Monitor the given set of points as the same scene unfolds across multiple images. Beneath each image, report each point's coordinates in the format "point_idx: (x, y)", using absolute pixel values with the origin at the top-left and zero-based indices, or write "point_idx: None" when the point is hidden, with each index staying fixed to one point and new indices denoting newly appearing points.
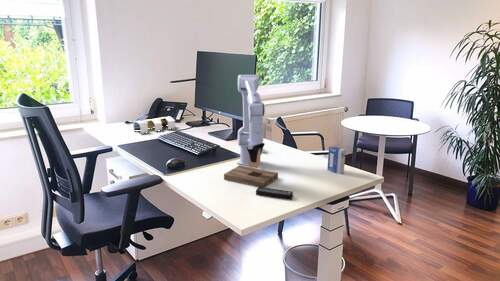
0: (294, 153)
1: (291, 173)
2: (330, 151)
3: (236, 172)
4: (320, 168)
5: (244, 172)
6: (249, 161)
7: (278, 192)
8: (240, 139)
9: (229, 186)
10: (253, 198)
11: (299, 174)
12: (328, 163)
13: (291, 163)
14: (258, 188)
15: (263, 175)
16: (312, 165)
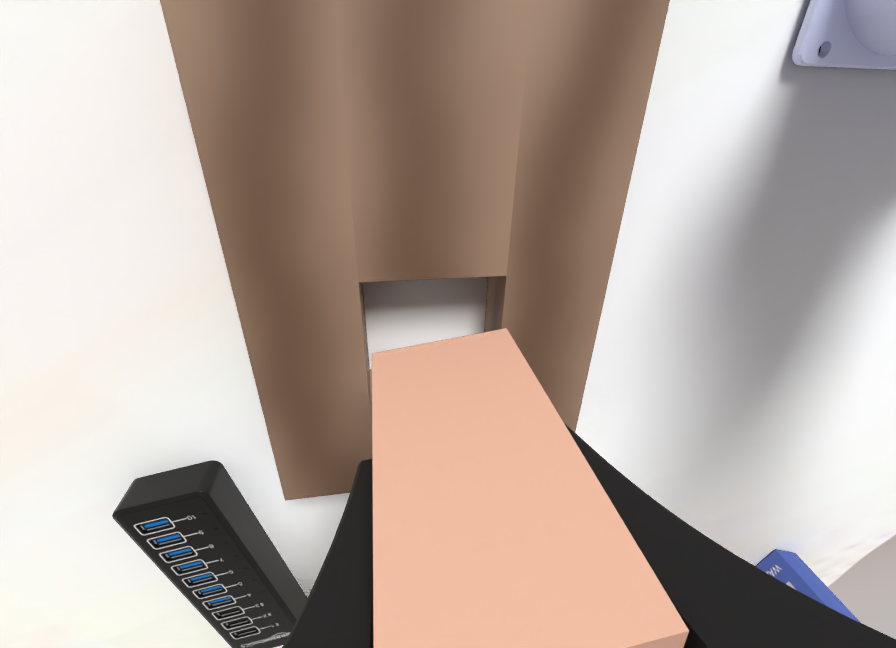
0: None
1: (671, 453)
2: None
3: (356, 107)
4: (795, 520)
5: (419, 212)
6: (375, 423)
7: (223, 609)
8: None
9: (57, 191)
10: (56, 502)
11: (666, 491)
12: (808, 593)
13: (891, 362)
14: (165, 507)
15: None
16: (847, 473)
